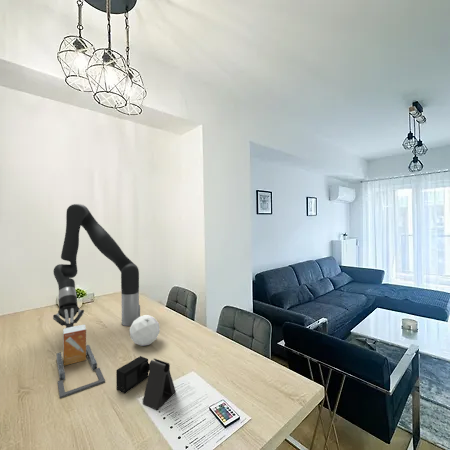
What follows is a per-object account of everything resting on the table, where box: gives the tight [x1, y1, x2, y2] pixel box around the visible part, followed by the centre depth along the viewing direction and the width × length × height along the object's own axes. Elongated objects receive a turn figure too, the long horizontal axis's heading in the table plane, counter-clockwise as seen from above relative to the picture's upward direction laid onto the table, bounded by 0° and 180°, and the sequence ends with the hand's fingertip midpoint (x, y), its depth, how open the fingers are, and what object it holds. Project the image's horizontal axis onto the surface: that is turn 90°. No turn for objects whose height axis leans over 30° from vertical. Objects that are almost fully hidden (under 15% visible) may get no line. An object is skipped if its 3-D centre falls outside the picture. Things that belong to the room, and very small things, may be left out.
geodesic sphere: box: [129, 314, 161, 347], centre depth 117 cm, size 14×14×14 cm
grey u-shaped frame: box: [56, 344, 98, 381], centre depth 101 cm, size 12×18×2 cm, turn 37°
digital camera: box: [115, 355, 150, 394], centre depth 88 cm, size 10×5×7 cm, turn 150°
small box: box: [62, 324, 87, 367], centre depth 104 cm, size 8×6×13 cm
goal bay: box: [57, 367, 106, 399], centre depth 89 cm, size 14×10×1 cm
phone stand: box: [142, 358, 177, 411], centre depth 81 cm, size 9×6×12 cm, turn 152°
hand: (70, 332), depth 113 cm, fingers closed
